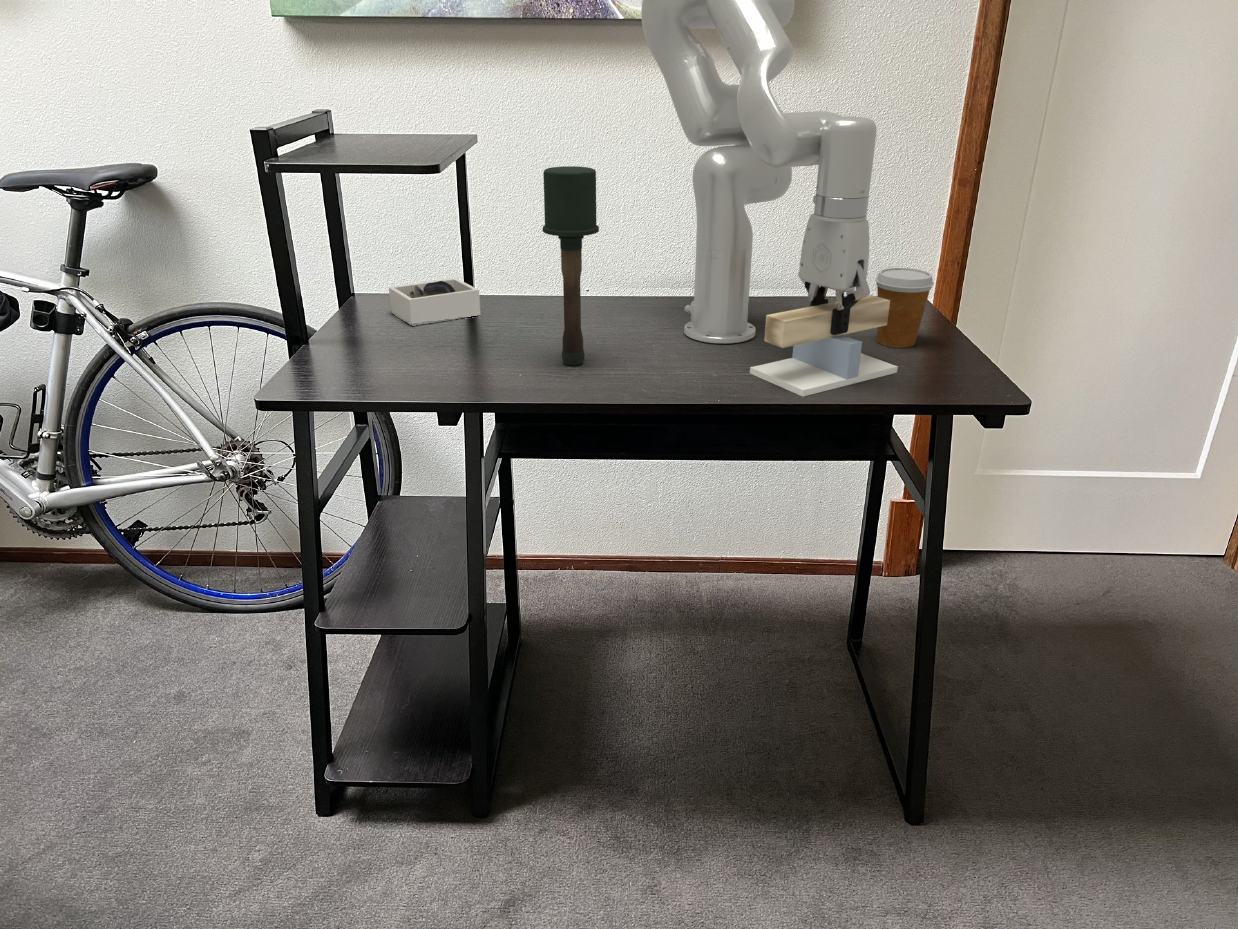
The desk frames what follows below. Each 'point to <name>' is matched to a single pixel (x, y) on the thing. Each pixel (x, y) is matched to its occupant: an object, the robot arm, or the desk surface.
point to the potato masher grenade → (570, 241)
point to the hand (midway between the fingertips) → (827, 328)
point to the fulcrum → (823, 366)
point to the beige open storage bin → (435, 302)
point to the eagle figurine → (433, 289)
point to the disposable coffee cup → (902, 304)
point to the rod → (823, 321)
